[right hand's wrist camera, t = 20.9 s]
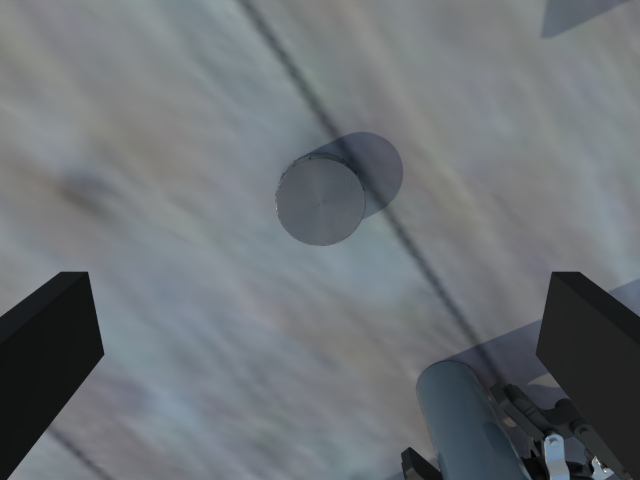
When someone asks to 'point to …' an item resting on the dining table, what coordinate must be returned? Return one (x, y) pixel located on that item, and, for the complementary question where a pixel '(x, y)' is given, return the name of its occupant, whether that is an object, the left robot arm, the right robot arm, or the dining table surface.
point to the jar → (466, 426)
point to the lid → (320, 199)
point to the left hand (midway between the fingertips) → (450, 427)
